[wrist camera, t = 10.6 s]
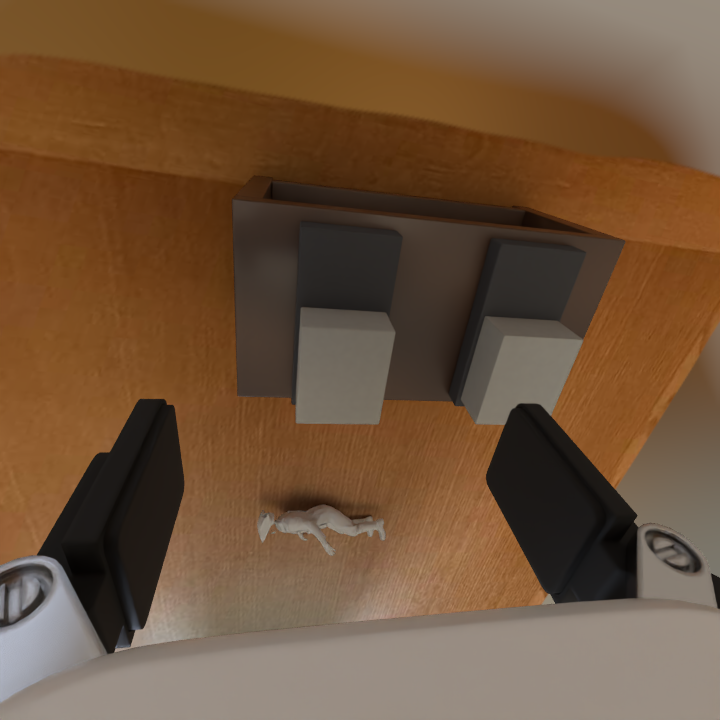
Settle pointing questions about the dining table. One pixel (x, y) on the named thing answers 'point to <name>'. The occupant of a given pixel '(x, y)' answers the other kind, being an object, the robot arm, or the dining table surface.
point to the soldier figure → (319, 524)
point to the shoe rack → (413, 280)
